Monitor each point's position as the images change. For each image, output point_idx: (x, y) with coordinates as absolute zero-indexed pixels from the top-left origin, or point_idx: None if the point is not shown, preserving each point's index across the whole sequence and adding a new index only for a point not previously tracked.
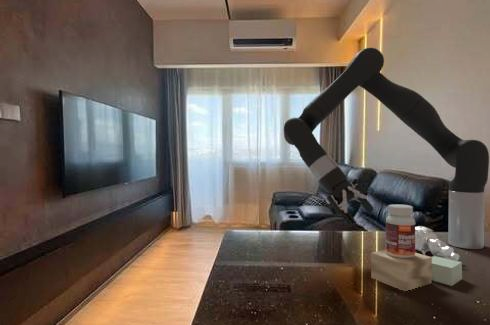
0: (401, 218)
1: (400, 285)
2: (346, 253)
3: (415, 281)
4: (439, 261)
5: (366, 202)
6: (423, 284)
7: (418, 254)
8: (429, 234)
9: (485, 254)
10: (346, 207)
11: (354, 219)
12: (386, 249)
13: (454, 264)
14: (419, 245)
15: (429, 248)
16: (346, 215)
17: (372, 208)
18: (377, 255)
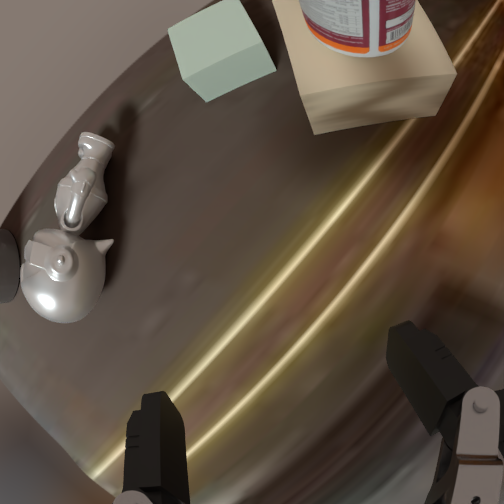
0: None
1: None
2: (356, 373)
3: None
4: (217, 34)
5: (160, 462)
6: None
7: (287, 12)
8: (48, 232)
9: (18, 197)
10: (463, 437)
11: (406, 343)
12: (411, 26)
13: (202, 14)
14: (97, 249)
15: (96, 211)
16: (465, 381)
17: (149, 401)
18: (444, 50)
